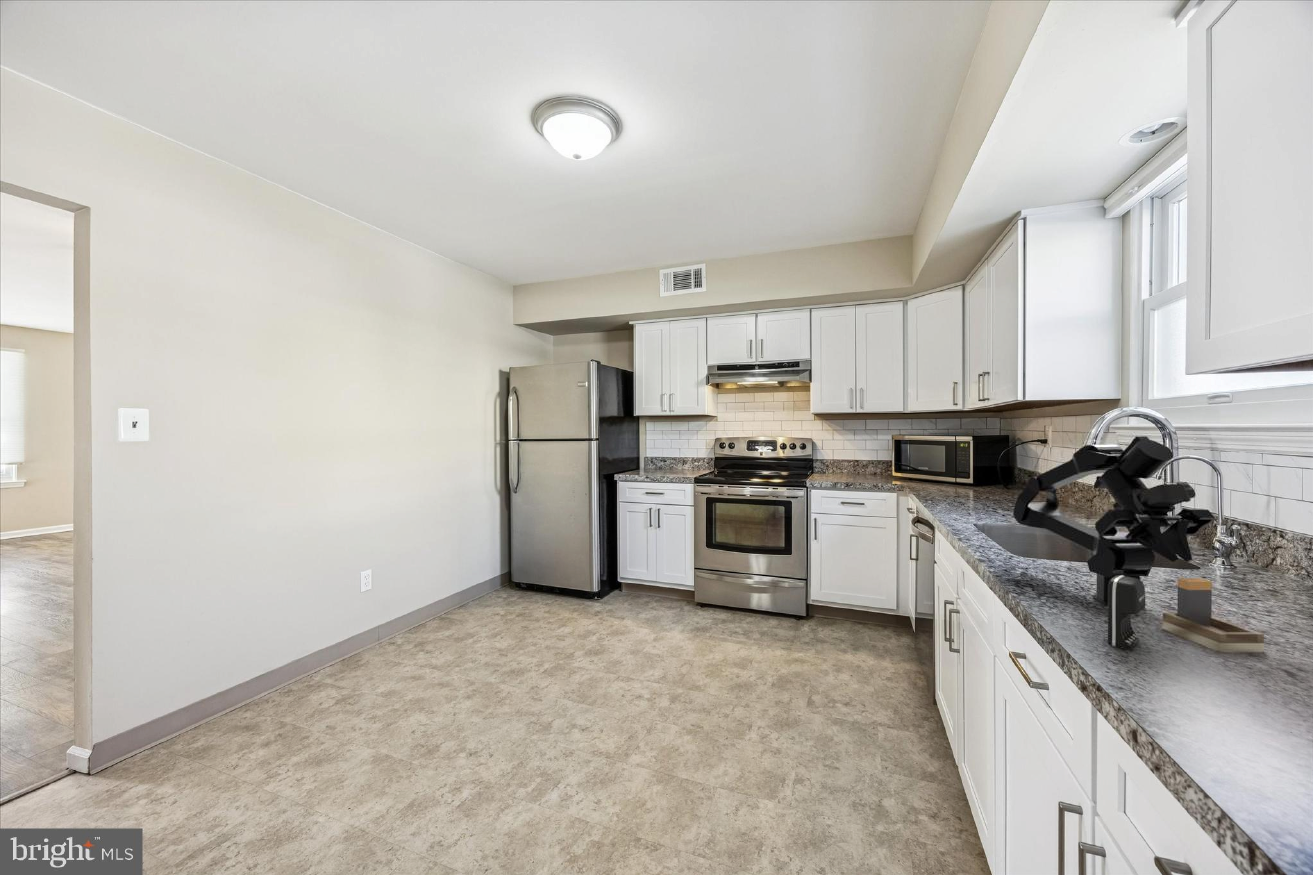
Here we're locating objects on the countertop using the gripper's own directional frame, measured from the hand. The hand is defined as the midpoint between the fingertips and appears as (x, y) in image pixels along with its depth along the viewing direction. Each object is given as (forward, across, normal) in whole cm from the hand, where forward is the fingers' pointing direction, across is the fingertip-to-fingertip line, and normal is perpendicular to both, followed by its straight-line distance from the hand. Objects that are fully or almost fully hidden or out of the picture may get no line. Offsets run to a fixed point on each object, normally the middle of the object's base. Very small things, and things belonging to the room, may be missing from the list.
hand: (1182, 560), depth 95 cm
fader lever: (+9, 0, +6) cm, 11 cm away
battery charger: (+14, -16, +4) cm, 22 cm away
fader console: (+12, 0, +5) cm, 14 cm away
